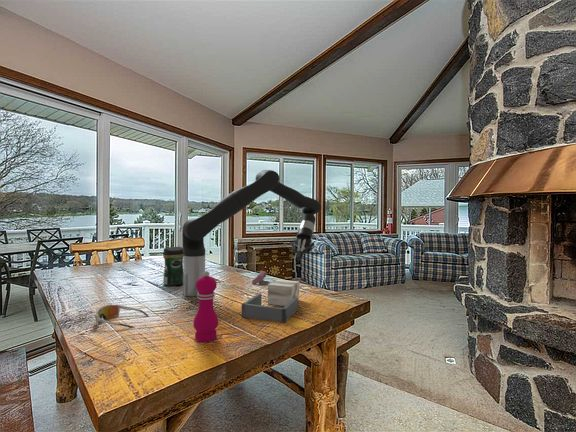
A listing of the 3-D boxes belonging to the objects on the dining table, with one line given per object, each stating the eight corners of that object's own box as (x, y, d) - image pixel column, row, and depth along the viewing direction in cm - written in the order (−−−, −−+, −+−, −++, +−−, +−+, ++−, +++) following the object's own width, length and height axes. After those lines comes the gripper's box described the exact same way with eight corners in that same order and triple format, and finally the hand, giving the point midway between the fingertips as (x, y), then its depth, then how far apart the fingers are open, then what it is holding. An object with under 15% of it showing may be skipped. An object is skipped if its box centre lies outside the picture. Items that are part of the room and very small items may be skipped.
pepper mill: (196, 333, 100) (196, 268, 99) (219, 332, 100) (220, 268, 100) (190, 343, 92) (191, 273, 92) (216, 342, 93) (217, 273, 92)
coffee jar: (180, 281, 167) (180, 245, 166) (186, 284, 160) (186, 247, 160) (161, 283, 161) (161, 246, 160) (166, 287, 155) (166, 248, 154)
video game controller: (258, 287, 162) (264, 275, 161) (250, 283, 162) (256, 271, 162) (263, 283, 171) (269, 271, 171) (256, 279, 172) (262, 267, 171)
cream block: (291, 307, 127) (291, 287, 127) (267, 304, 130) (267, 284, 130) (298, 300, 136) (299, 281, 136) (276, 297, 140) (277, 279, 140)
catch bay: (285, 322, 110) (285, 309, 110) (241, 316, 115) (241, 304, 115) (297, 309, 124) (298, 297, 124) (258, 304, 129) (258, 293, 129)
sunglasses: (110, 314, 117) (112, 300, 116) (151, 320, 116) (153, 307, 116) (84, 329, 102) (86, 313, 102) (131, 337, 102) (133, 321, 102)
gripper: (291, 226, 164) (283, 253, 153) (317, 227, 160) (310, 255, 148) (294, 235, 169) (287, 263, 158) (319, 236, 165) (313, 264, 154)
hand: (298, 259), depth 153 cm, fingers closed
